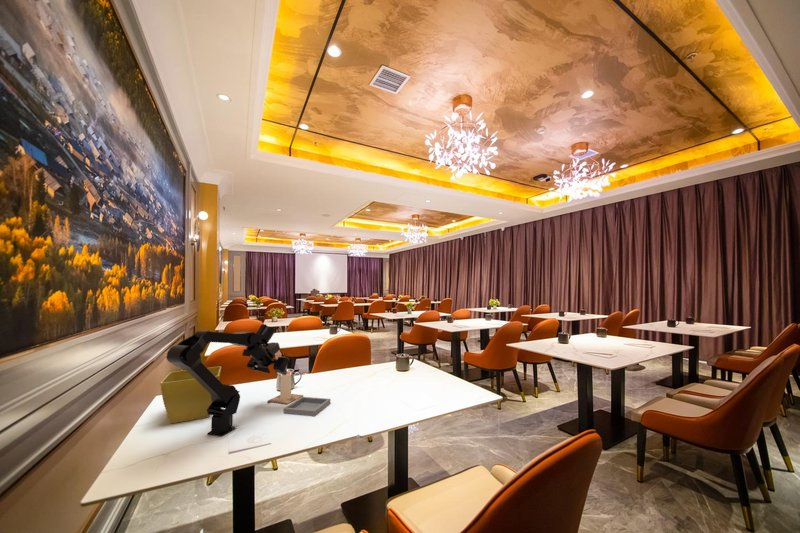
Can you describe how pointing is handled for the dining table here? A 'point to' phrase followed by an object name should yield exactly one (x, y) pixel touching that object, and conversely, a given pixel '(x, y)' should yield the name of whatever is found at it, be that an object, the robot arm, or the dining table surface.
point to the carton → (285, 386)
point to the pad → (286, 402)
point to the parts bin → (307, 406)
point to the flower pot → (186, 396)
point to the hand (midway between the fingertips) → (277, 373)
